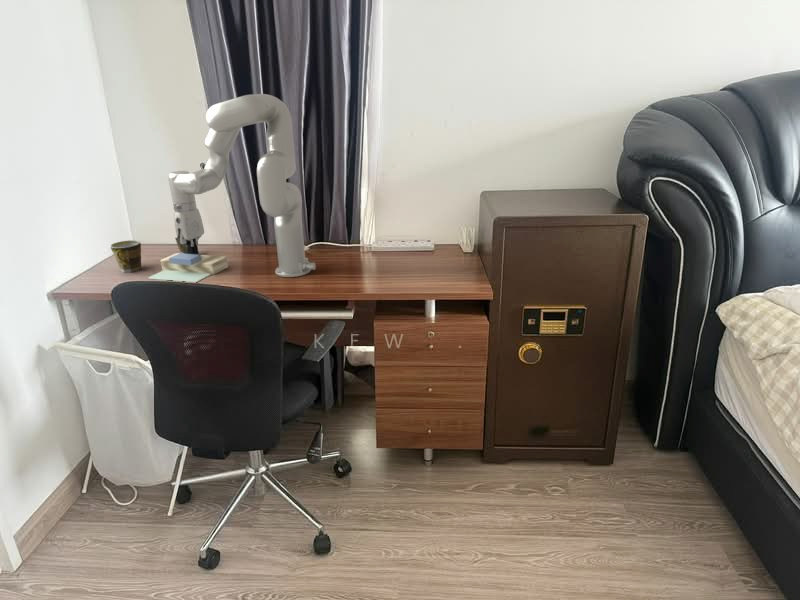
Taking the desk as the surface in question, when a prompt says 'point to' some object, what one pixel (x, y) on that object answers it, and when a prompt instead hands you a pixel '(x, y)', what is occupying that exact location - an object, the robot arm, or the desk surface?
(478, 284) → the desk surface
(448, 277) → the desk surface
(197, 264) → the block
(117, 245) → the ceramic cup
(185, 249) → the cup
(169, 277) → the mat
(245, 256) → the desk surface
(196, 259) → the blue rectangular block
